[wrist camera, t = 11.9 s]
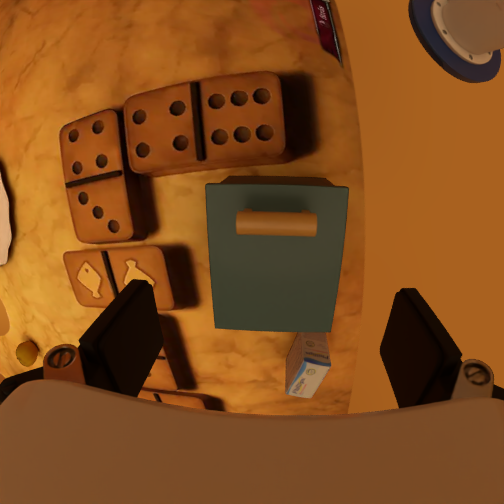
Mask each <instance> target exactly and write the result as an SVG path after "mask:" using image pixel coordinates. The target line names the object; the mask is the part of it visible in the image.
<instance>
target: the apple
mask: <svg viewBox="0 0 504 504" xmlns="http://www.w3.org/2000/svg"><path fill="white" fill-rule="evenodd" d="M37 355H38V349H37V347H36V346H35V345H34V343H32V342H29V341H27V342H23V343H21V344H19V345H18V347H17V349H16V356H17V359H18V360H19V361H20V363H21V364H22V365H23V366H26V367H29V366H31V365H33V364H34V362H35V361H36V359H37Z"/></svg>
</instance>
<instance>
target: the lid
mask: <svg viewBox="0 0 504 504" xmlns="http://www.w3.org/2000/svg"><path fill="white" fill-rule="evenodd" d="M205 190H206V212H207V231H208V247H209V262H210V276H211V288H212V300H213V312H214V323H215V328H218V329H233V330H250V331H273V332H331V327H332V322H333V316H334V310H335V305H336V298H337V292H338V285H339V278H340V271H341V264H342V256H343V247H344V239H345V229H346V219H347V207H348V194H349V188H348V187H345V186H329V185H310V184H282V183H207V184H206V185H205Z"/></svg>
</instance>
